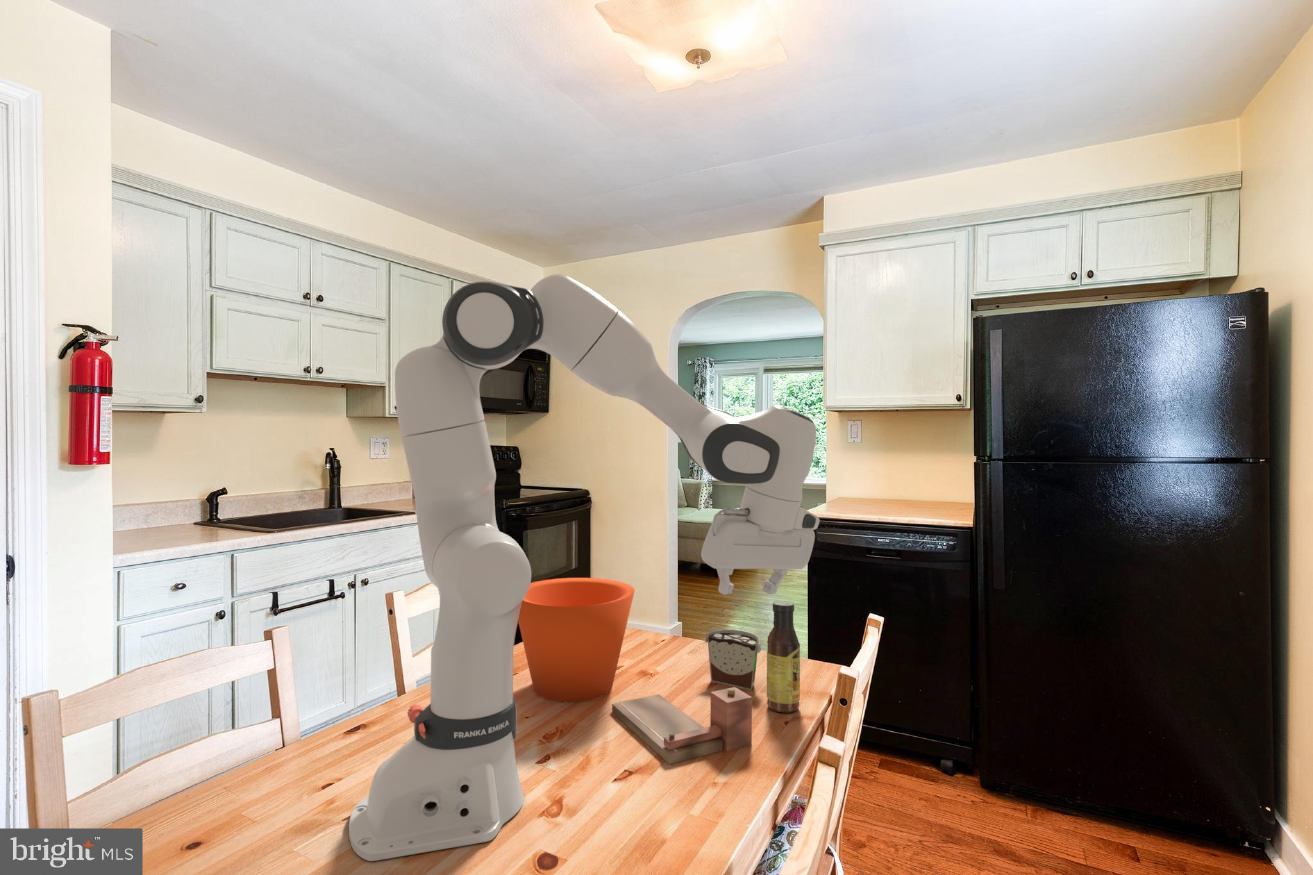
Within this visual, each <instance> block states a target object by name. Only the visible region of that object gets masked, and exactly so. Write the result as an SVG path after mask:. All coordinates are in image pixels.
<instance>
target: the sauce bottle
mask: <svg viewBox="0 0 1313 875" xmlns="http://www.w3.org/2000/svg"><path fill="white" fill-rule="evenodd" d="M772 611H773V622H772V623H773V627H772V629H771V630H770V632H769V634H768V636H767V651H766V698H767V702H766V704H767V705H766V706H767V707H768V708H769V709H771V710H772V711H774V712H778V713H785V714H786V713H787V714H789V713H792V712H793V713H794V712H796V711H798V709H799V707H800V700H801V696H800V695H801V645H800V641H799V639H798V635H797V633H796V630H795V624H794V612H795V604H794V603H793V602H791V601H785V600H779V601H774V602H772Z"/></svg>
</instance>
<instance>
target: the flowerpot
mask: <svg viewBox="0 0 1313 875" xmlns="http://www.w3.org/2000/svg"><path fill="white" fill-rule="evenodd" d="M634 594H635V588H634V587H633V586H632V585H631V584H628V583H626V582H622V581H618V580H612V579H606V578H595V577H566V578H565V577H563V578H562V577H561V578H552V579H542V580H538V581H532V582H531V583H530V587H529V589H528V592H527V594H526V596H525V597H524V599H523V600H522V603H521V608H520V613H519V618H518V626H519V630H520V635H521V638H522V642H523V647H524V652H525V657H526V661H527V666H528V671H529V675H530V679H531V683H532V688H533V689H532V690H533V692H534V693H535V695H537V696H538V697H539V696H540V698H541V697H542V698H541V699H543V698H544V700H546V699H547V701H551V702H555V701H556V702H555V703H581V702H582V701H583V702H589V701H593V700H595V699H598V697H599V698H601V696H602V697H604V696H606V695H607V694H609V693H610V691H611V690H612V688H613V685H614V680H615V677H616V673H617V668H618V663H619V659H620V654H621V650H622V647H623V643H624V638H625V634H626V629H627V625H628V621H629V617H630V612H631V608H632V603H633V598H634ZM605 694H606V695H605ZM603 695H604V696H603Z"/></svg>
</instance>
